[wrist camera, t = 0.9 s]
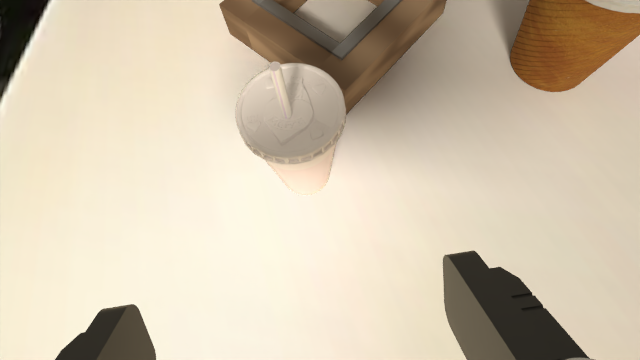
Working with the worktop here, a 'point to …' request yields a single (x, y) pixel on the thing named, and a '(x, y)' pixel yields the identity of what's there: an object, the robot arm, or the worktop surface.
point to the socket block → (324, 52)
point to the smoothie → (293, 122)
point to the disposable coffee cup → (571, 39)
